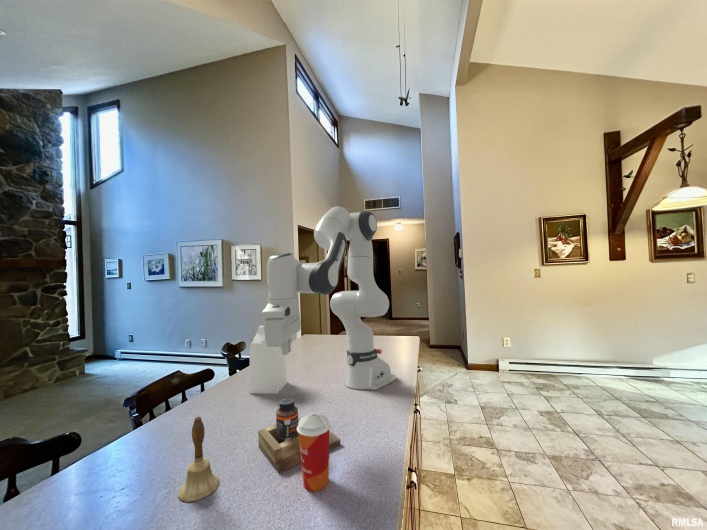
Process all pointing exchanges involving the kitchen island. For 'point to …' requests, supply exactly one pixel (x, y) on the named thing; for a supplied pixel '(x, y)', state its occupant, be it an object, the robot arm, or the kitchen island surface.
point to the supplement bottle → (286, 420)
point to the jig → (284, 448)
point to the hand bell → (198, 470)
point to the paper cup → (314, 451)
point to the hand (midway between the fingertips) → (286, 353)
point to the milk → (266, 366)
